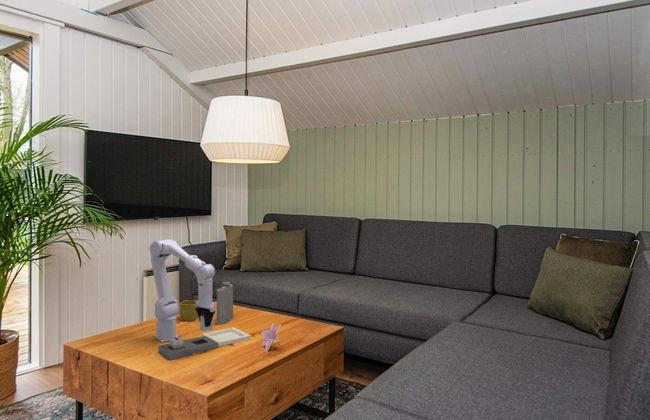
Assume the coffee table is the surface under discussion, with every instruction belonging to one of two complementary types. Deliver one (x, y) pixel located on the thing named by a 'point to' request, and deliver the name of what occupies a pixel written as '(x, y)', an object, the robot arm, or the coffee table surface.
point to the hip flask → (225, 303)
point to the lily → (270, 336)
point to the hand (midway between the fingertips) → (205, 325)
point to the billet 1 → (176, 343)
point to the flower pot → (188, 310)
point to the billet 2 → (202, 324)
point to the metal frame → (188, 347)
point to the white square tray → (227, 336)
